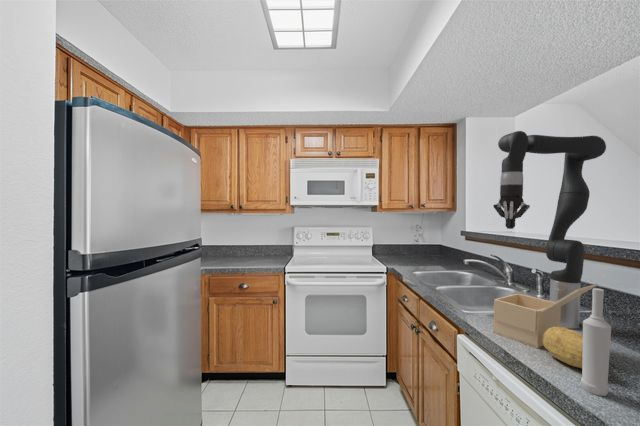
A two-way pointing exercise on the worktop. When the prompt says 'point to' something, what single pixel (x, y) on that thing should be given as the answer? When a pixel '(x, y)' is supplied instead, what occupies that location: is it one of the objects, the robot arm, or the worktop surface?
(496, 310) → the carton
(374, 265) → the worktop surface
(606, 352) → the bottle
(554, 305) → the carton flap
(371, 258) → the worktop surface
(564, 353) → the potato
